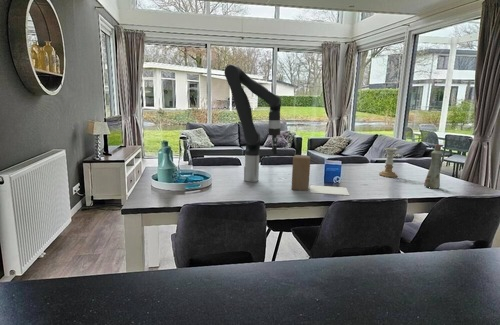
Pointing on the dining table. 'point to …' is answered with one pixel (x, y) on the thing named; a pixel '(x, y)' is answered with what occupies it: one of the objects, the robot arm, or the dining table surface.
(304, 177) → the block
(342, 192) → the mat
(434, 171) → the bottle
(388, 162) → the candle holder
